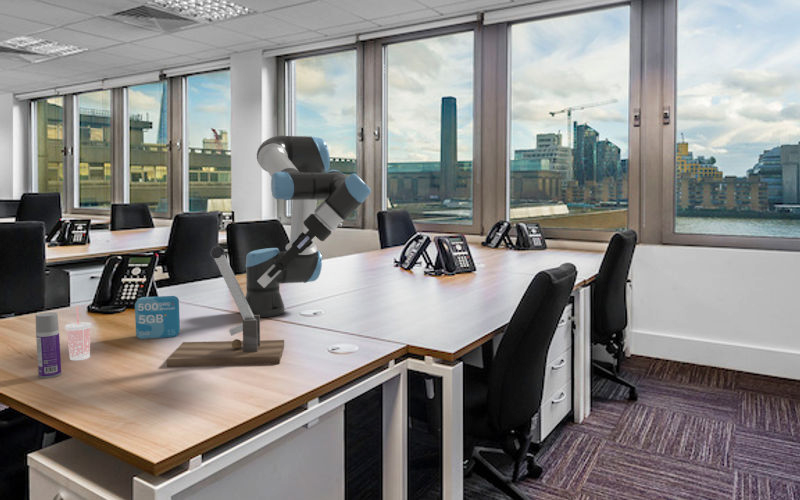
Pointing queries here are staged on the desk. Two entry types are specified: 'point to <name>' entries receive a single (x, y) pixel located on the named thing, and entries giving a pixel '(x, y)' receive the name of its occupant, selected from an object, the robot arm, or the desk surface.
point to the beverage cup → (78, 339)
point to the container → (48, 345)
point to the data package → (157, 317)
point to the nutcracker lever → (232, 287)
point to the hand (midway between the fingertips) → (260, 284)
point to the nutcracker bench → (230, 350)
